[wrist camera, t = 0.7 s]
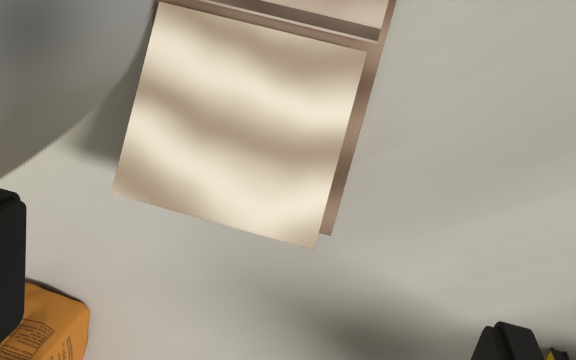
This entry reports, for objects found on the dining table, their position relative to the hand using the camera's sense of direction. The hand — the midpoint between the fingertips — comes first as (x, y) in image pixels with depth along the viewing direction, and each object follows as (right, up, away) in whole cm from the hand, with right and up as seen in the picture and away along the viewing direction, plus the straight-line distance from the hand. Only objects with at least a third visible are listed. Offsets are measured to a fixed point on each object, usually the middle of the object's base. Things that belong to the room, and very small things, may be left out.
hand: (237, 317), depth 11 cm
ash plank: (-2, +7, +28) cm, 29 cm away
